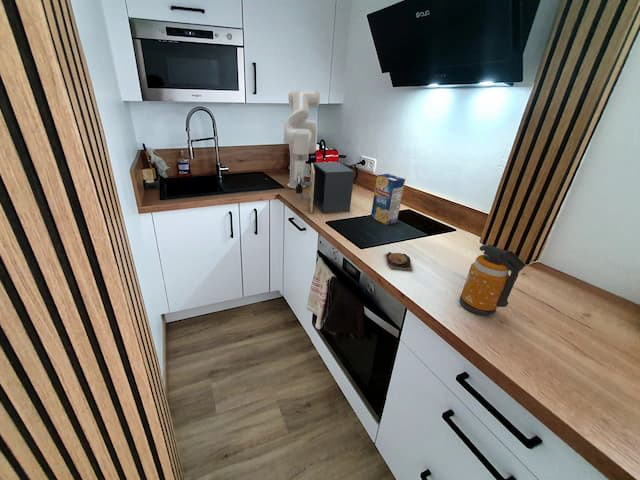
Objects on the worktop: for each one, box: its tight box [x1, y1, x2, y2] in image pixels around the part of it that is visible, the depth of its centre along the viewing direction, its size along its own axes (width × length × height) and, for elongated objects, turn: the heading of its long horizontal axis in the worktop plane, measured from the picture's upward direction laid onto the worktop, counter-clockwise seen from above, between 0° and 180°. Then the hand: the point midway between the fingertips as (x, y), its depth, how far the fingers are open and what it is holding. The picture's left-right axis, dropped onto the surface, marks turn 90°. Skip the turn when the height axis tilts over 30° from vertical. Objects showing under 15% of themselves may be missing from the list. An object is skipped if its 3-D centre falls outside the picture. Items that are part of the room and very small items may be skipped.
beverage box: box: [370, 173, 406, 226], centre depth 138 cm, size 7×11×22 cm, turn 26°
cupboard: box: [312, 161, 355, 214], centre depth 157 cm, size 15×22×22 cm
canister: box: [459, 243, 527, 316], centre depth 80 cm, size 9×11×20 cm
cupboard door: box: [298, 162, 315, 214], centre depth 155 cm, size 7×22×22 cm, turn 176°
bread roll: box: [385, 251, 413, 272], centre depth 106 cm, size 11×8×4 cm
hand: (299, 192), depth 148 cm, fingers closed on cupboard door
